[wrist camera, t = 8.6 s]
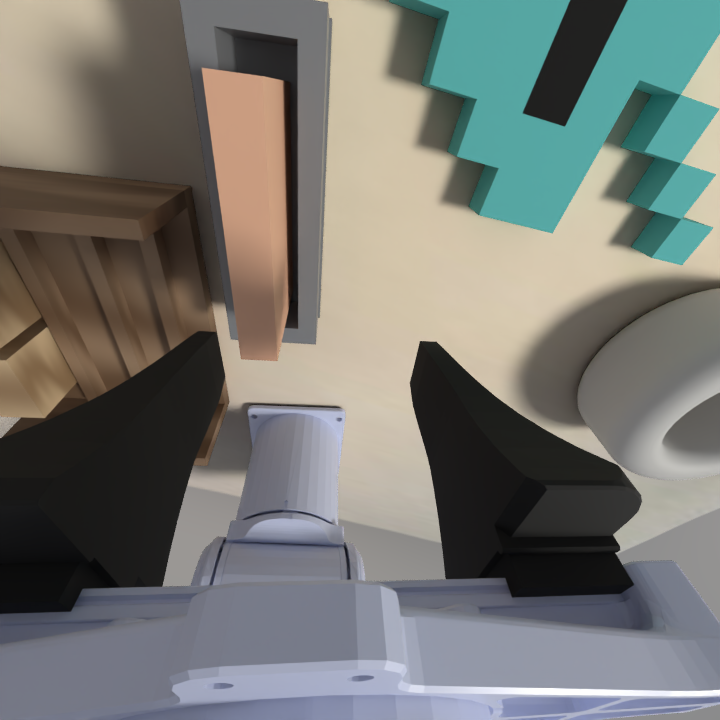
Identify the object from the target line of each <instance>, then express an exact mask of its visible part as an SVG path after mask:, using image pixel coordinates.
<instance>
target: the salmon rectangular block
mask: <svg viewBox="0 0 720 720" xmlns="http://www.w3.org/2000/svg"><path fill="white" fill-rule="evenodd" d="M202 74H203V82H204V89H205V96H206V104H207V111H208V119H209V126H210V133H211V141H212V148H213V156H214V163H215V170H216V178H217V185H218V192H219V200H220V207H221V215H222V222H223V229H224V237H225V244H226V252H227V259H228V266H229V274H230V281H231V289H232V296H233V303H234V311H235V318H236V325H237V333H238V340H239V348H240V355H241V359H248V360H267V361H277V360H278V356H279V351H280V347H281V342H282V338H283V333H284V329H285V324H286V320H287V315H288V311H289V306H290V302H291V297H292V293H293V256H292V183H291V110H290V82H288V81H283V80H278V79H274V78H269V77H264V76H258V75H251V74H243V73H236V72H229V71H222V70H215V69H208V68H202Z"/></svg>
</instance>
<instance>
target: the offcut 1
mask: <svg viewBox="0 0 720 720" xmlns="http://www.w3.org/2000/svg"><path fill="white" fill-rule="evenodd" d="M41 317H42V315H41V313H40V311H39V309H38V307H37V305H36V303H35V302H34V300H33V298H32V296H31V294H30V292H29V290H28V289H27V287H26V285H25V283H24V281H23V279H22V277H21V276H20V274H19V272H18V270H17V268H16V266H15V264H14V262H13V261H12V259H11V257H10V255H9V253H8V251H7V249H6V248H5V246H4V244H3V242H2V240H1V238H0V348H2V347H3V346H4V345H6V344H7V343H8V342H10V341H11V340H12V339H14V338H15V337H16V336H18V335H19V334H20V333H21V332H23V331H24V330H25V329H27V328H28V327H29V326H31V325H32V324H33V323H35V322H36V321H37V320H39V319H40V318H41Z"/></svg>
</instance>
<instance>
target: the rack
mask: <svg viewBox="0 0 720 720" xmlns="http://www.w3.org/2000/svg"><path fill="white" fill-rule="evenodd" d="M0 238H1V240H2V242H3V244H4V246H5V248H6V249H7V251H8V253H9V255H10V257H11V259H12V261H13V262H14V264H15V266H16V268H17V270H18V272H19V274H20V276H21V277H22V279H23V281H24V283H25V285H26V287H27V289H28V290H29V292H30V294H31V296H32V298H33V300H34V302H35V303H36V305H37V307H38V309H39V311H40V313H41V315H42V317H41V318H40V319H39V320H45V322H46V324H47V326H48V328H49V329H50V331H51V333H52V335H53V337H54V339H55V341H56V342H57V344H58V346H59V348H60V350H61V352H62V354H63V355H64V357H65V359H66V361H67V363H68V365H69V367H70V368H71V370H72V372H73V374H74V376H75V378H76V380H77V381H78V382H77V383H76V384H75V385H74V386H73V387H72V388H71V390H70V391H69V392H68V393H67V394H66V395H65V396H64V397H63V398H62V400H61V401H60V402H59V403H58V404H57V405H56V406H55V407H54V408H53V410H52V411H51V412H50V413H49V414H48V415H47V416H46V417H45V418H27V417H21V418H20V419H19V420H18V421H17V423H16V424H15V425H14V426H13V427H12V428H11V429H10V430H9V431H8V432H7V433H6V434H5V435H4V436H3V437H6V436H8V435H11V434H14V433H16V432H19V431H21V430H24V429H27V428H29V427H32V426H34V425H37V424H39V423H42V422H44V421H47V420H49V419H51V418H54V417H56V416H58V415H60V414H62V413H64V412H67V411H69V410H71V409H73V408H75V407H77V406H80V405H82V404H84V403H86V402H88V401H90V400H92V399H94V398H96V397H98V396H100V395H102V394H103V393H105V392H107V391H109V390H111V389H113V388H114V387H116V386H118V385H120V384H121V383H123V382H125V381H126V380H128V379H129V378H131V377H133V376H134V375H136V374H137V373H139V372H140V371H142V370H143V369H145V368H146V367H148V366H149V365H151V364H152V363H154V362H155V361H157V360H158V359H160V358H161V357H162V356H164V355H165V354H167V353H168V352H169V351H171V350H172V349H174V348H175V347H176V346H178V345H179V344H180V343H182V342H183V341H184V340H186V339H187V338H189V337H190V336H191V335H193V334H194V333H196V332H197V331H211V332H217V330H216V325H215V319H214V314H213V308H212V303H211V297H210V291H209V286H208V280H207V275H206V269H205V263H204V258H203V252H202V247H201V241H200V236H199V230H198V224H197V219H196V213H195V208H194V202H193V196H192V191H191V186H185V185H175V184H166V183H156V182H146V181H137V180H127V179H118V178H108V177H98V176H89V175H79V174H70V173H60V172H50V171H41V170H31V169H22V168H12V167H2V166H0ZM217 337H218V336H217ZM228 404H229V397H228V392H227V386H226V381H224V385H223V389H222V393H221V397H220V400H219V403H218V406H217V408H216V411H215V413H214V415H213V418H212V420H211V423H210V425H209V427H208V430H207V432H206V434H205V437H204V439H203V442H202V444H201V446H200V449H199V451H198V453H197V456H196V459H195V461H194V464H193V465H199V466H207V465H208V462H209V459H210V456H211V453H212V450H213V447H214V445H215V442H216V439H217V436H218V433H219V430H220V427H221V424H222V422H223V419H224V416H225V413H226V410H227V407H228ZM3 437H2V438H3Z"/></svg>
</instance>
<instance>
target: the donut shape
mask: <svg viewBox="0 0 720 720" xmlns="http://www.w3.org/2000/svg"><path fill="white" fill-rule="evenodd" d="M577 403H578V408H579V412H580V414H581V416H582V418H583V420H584V421H585V422H586V424H587V425H588V426H589V428H590V429H591V430H592V432H593V433H594V434H595V436H596V437H597V438H598V440H599V441H600V442H601V444H602V445H603V446H604V448H605V449H606V450H607V452H608V453H609V454H610V456H611V457H612V458H613V459H614V460H615V461H616V462H617V463H618V464H619V465H621V466H622V467H624V468H625V469H627V470H629V471H631V472H633V473H635V474H638V475H641V476H644V477H648V478H653V479H660V480H688V479H697V478H703V477H709V476H713V475H718V474H720V288H717V289H711V290H706V291H702V292H698V293H694V294H691V295H687V296H684V297H682V298H679V299H676V300H674V301H671V302H669V303H666V304H664V305H662V306H660V307H658V308H656V309H654V310H652V311H650V312H648V313H647V314H645V315H643V316H641V317H640V318H638V319H637V320H635V321H634V322H632V323H631V324H629V325H628V326H626V327H625V328H624V329H622V330H621V331H620V332H619V333H617V334H616V335H615V336H614V337H613V338H612V339H611V340H609V341H608V342H607V343H606V344H605V345H604V346H603V347H602V348H601V350H600V351H599V352H598V353H597V354H596V355H595V357H594V358H593V359H592V361H591V362H590V364H589V365H588V367H587V368H586V370H585V372H584V374H583V376H582V378H581V381H580V384H579V388H578V394H577Z"/></svg>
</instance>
